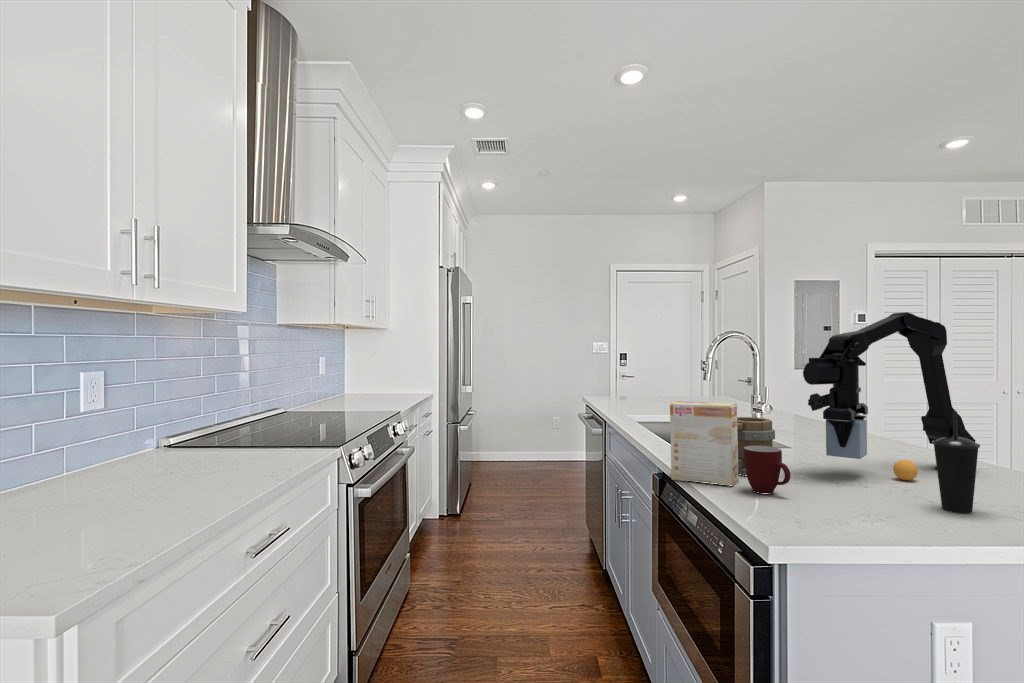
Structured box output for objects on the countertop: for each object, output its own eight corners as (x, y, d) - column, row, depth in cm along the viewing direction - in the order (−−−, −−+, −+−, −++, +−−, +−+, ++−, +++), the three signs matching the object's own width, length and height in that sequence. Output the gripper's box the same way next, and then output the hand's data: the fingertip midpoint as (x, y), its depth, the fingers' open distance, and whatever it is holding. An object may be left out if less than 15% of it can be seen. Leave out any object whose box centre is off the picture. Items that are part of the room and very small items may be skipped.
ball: (895, 476, 143) (894, 457, 143) (919, 479, 139) (919, 459, 139) (891, 480, 139) (891, 460, 139) (916, 483, 136) (915, 462, 136)
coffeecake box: (739, 481, 140) (737, 402, 140) (732, 487, 134) (731, 405, 134) (679, 474, 148) (677, 400, 148) (670, 480, 142) (669, 403, 142)
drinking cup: (963, 505, 118) (962, 409, 118) (991, 516, 110) (989, 413, 110) (924, 504, 118) (923, 409, 118) (949, 515, 111) (947, 413, 111)
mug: (800, 494, 127) (799, 450, 127) (783, 501, 122) (782, 455, 122) (755, 486, 135) (754, 444, 135) (737, 491, 130) (736, 448, 130)
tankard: (743, 464, 159) (743, 411, 159) (786, 472, 149) (785, 415, 149) (697, 473, 148) (697, 416, 148) (740, 483, 138) (739, 421, 138)
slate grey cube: (834, 451, 149) (833, 417, 149) (867, 454, 144) (866, 420, 144) (826, 455, 144) (825, 420, 144) (860, 459, 138) (859, 423, 139)
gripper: (821, 380, 156) (822, 437, 156) (800, 384, 143) (801, 446, 142) (867, 382, 149) (868, 441, 148) (850, 386, 135) (851, 451, 135)
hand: (846, 444), depth 144 cm, fingers closed on slate grey cube, 7 cm apart
